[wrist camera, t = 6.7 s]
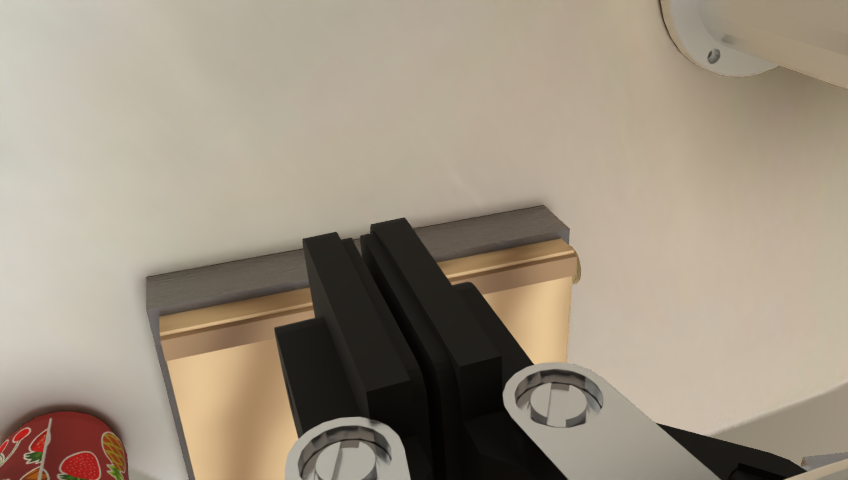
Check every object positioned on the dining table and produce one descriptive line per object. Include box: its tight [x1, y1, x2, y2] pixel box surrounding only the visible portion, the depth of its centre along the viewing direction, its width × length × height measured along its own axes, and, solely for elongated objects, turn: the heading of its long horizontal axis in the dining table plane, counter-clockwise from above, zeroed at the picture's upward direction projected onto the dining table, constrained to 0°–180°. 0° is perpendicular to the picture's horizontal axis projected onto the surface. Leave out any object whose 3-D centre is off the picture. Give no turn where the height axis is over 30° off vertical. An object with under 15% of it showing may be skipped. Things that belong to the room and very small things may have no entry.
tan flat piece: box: [159, 238, 577, 480], centre depth 42 cm, size 22×16×4 cm
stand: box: [147, 205, 581, 480], centre depth 45 cm, size 24×17×3 cm
